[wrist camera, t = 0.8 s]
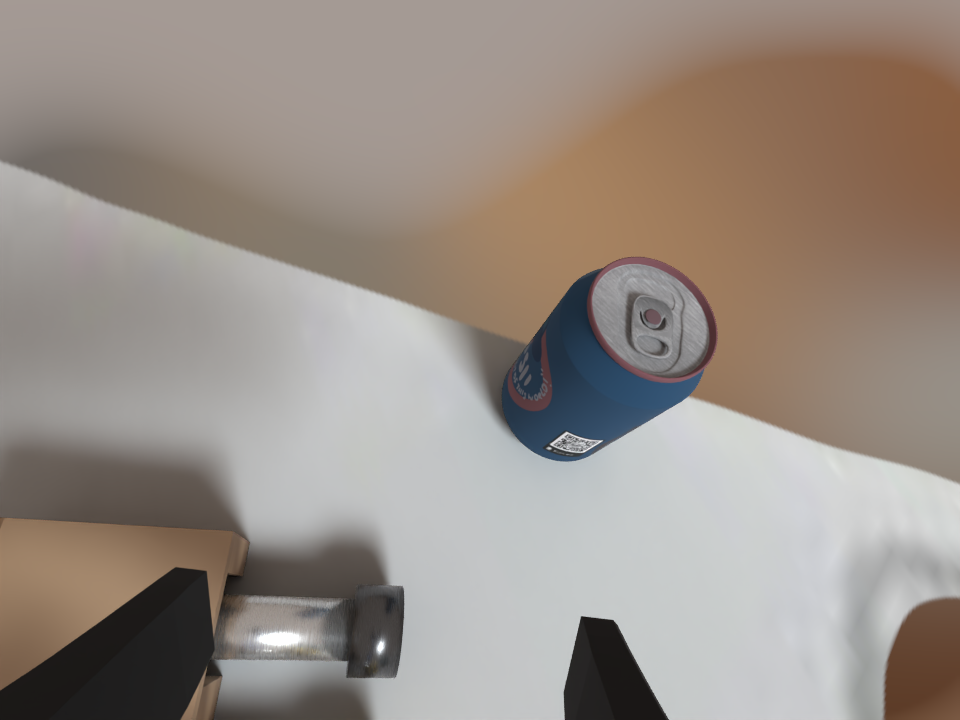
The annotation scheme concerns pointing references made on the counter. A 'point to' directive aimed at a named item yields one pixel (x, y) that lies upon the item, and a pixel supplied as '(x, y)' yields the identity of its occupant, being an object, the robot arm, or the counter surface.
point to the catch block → (97, 584)
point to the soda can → (609, 359)
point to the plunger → (316, 629)
